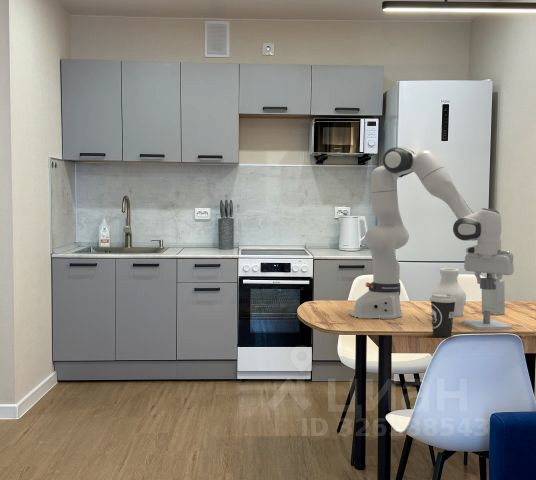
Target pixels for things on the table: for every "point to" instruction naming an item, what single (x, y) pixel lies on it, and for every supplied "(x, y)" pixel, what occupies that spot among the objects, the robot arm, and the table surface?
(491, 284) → the ring
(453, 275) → the vase
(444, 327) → the coffee cup
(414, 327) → the table surface
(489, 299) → the skincare box
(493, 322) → the post
